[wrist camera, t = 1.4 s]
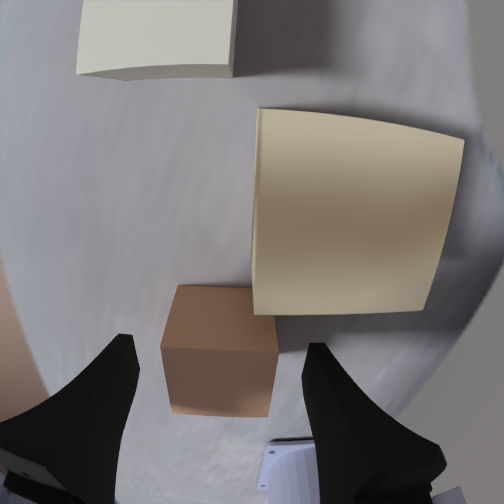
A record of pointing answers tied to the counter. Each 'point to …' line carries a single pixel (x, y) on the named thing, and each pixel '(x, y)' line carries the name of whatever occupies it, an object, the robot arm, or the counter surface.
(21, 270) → the counter surface
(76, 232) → the counter surface
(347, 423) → the robot arm
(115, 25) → the cream cube
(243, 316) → the brown cube
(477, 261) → the counter surface
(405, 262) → the beech block
